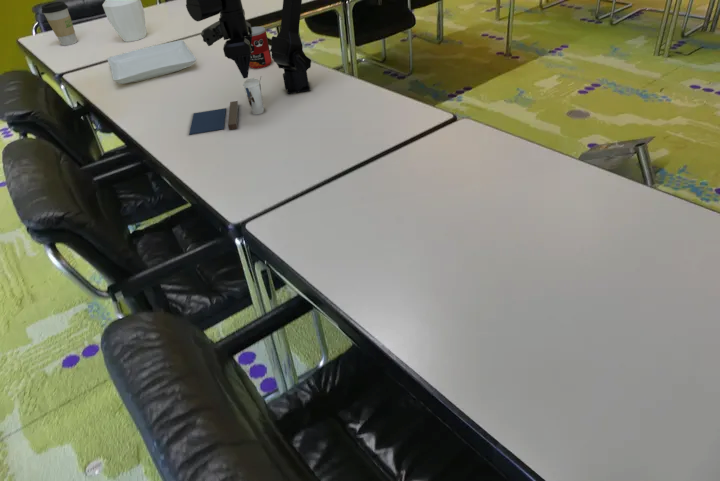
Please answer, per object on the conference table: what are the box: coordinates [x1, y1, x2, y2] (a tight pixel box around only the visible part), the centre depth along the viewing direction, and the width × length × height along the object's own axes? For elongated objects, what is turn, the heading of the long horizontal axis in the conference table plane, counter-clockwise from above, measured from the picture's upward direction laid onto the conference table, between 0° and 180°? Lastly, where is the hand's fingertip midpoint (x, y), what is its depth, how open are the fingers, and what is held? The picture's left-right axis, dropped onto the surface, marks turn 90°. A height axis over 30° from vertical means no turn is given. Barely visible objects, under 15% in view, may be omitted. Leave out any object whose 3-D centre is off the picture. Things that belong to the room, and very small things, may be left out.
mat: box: [188, 107, 227, 136], centre depth 143 cm, size 9×13×1 cm
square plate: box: [106, 39, 198, 85], centre depth 181 cm, size 27×27×4 cm
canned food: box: [248, 26, 273, 70], centre depth 171 cm, size 8×8×11 cm
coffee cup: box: [41, 1, 78, 46], centre depth 213 cm, size 10×10×15 cm
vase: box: [101, 0, 148, 43], centre depth 206 cm, size 14×14×25 cm
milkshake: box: [242, 76, 265, 115], centre depth 141 cm, size 5×5×10 cm
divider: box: [227, 100, 239, 131], centre depth 143 cm, size 2×15×2 cm, turn 9°
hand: (246, 71), depth 138 cm, fingers open, 9 cm apart
